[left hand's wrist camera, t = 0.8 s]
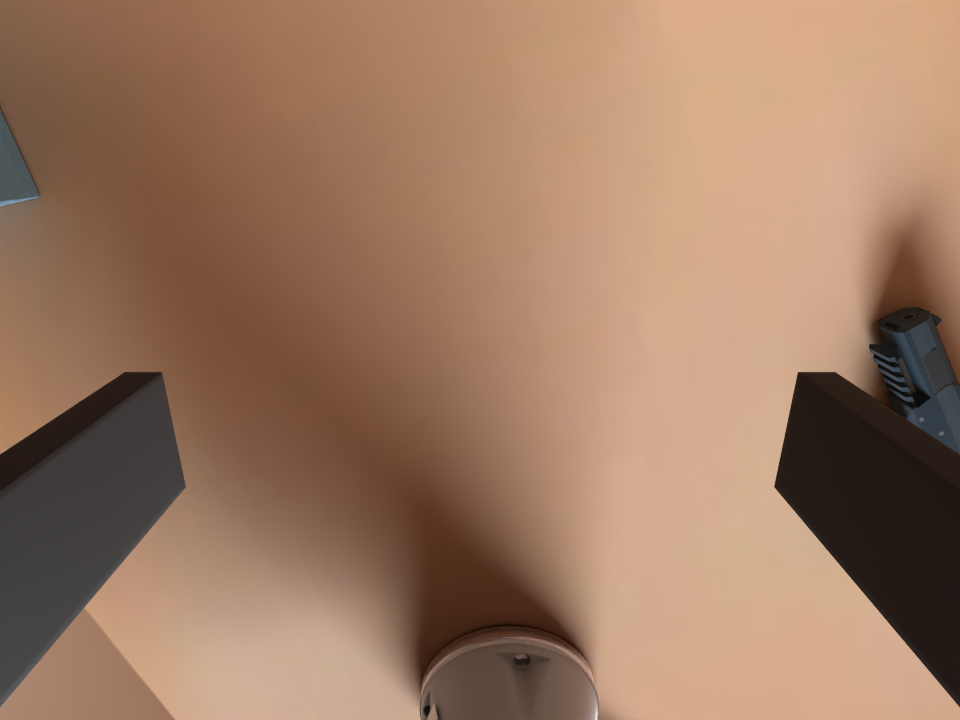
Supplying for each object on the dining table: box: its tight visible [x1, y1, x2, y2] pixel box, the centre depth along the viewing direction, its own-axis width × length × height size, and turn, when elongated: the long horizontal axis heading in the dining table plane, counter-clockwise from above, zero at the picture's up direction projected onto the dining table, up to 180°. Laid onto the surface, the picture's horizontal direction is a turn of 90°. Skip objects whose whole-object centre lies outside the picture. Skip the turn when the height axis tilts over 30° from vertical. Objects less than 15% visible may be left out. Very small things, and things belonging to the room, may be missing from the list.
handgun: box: [869, 307, 960, 454], centre depth 42 cm, size 3×18×12 cm
